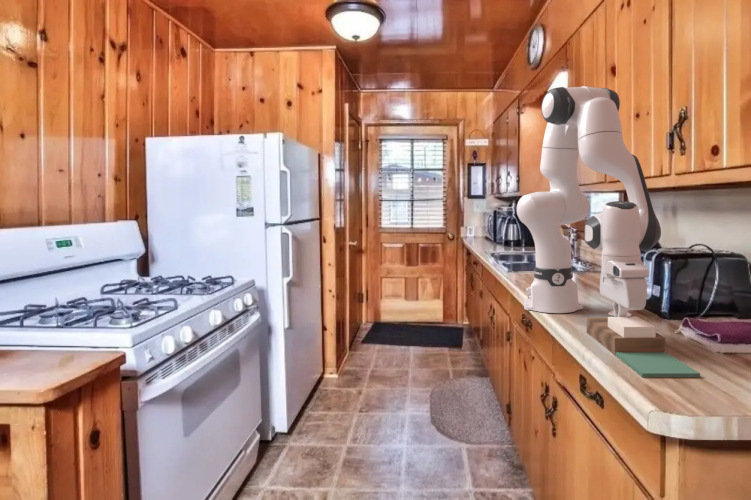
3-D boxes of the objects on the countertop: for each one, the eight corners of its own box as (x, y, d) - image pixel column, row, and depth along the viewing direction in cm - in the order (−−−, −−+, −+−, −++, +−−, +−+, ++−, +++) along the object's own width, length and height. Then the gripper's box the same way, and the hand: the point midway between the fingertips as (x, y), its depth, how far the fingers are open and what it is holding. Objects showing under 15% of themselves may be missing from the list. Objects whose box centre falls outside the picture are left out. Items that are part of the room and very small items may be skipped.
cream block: (607, 326, 122) (607, 317, 121) (636, 326, 121) (637, 316, 121) (623, 337, 112) (623, 327, 112) (655, 337, 111) (655, 326, 111)
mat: (615, 355, 112) (615, 352, 112) (665, 355, 110) (666, 352, 110) (642, 377, 98) (642, 373, 98) (700, 377, 97) (700, 373, 96)
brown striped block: (586, 332, 132) (586, 317, 131) (628, 331, 131) (629, 317, 130) (614, 354, 112) (614, 338, 112) (664, 354, 111) (665, 337, 110)
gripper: (593, 261, 132) (593, 311, 133) (623, 271, 112) (623, 330, 113) (617, 261, 131) (617, 311, 133) (652, 271, 111) (651, 330, 112)
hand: (620, 320), depth 123 cm, fingers closed
